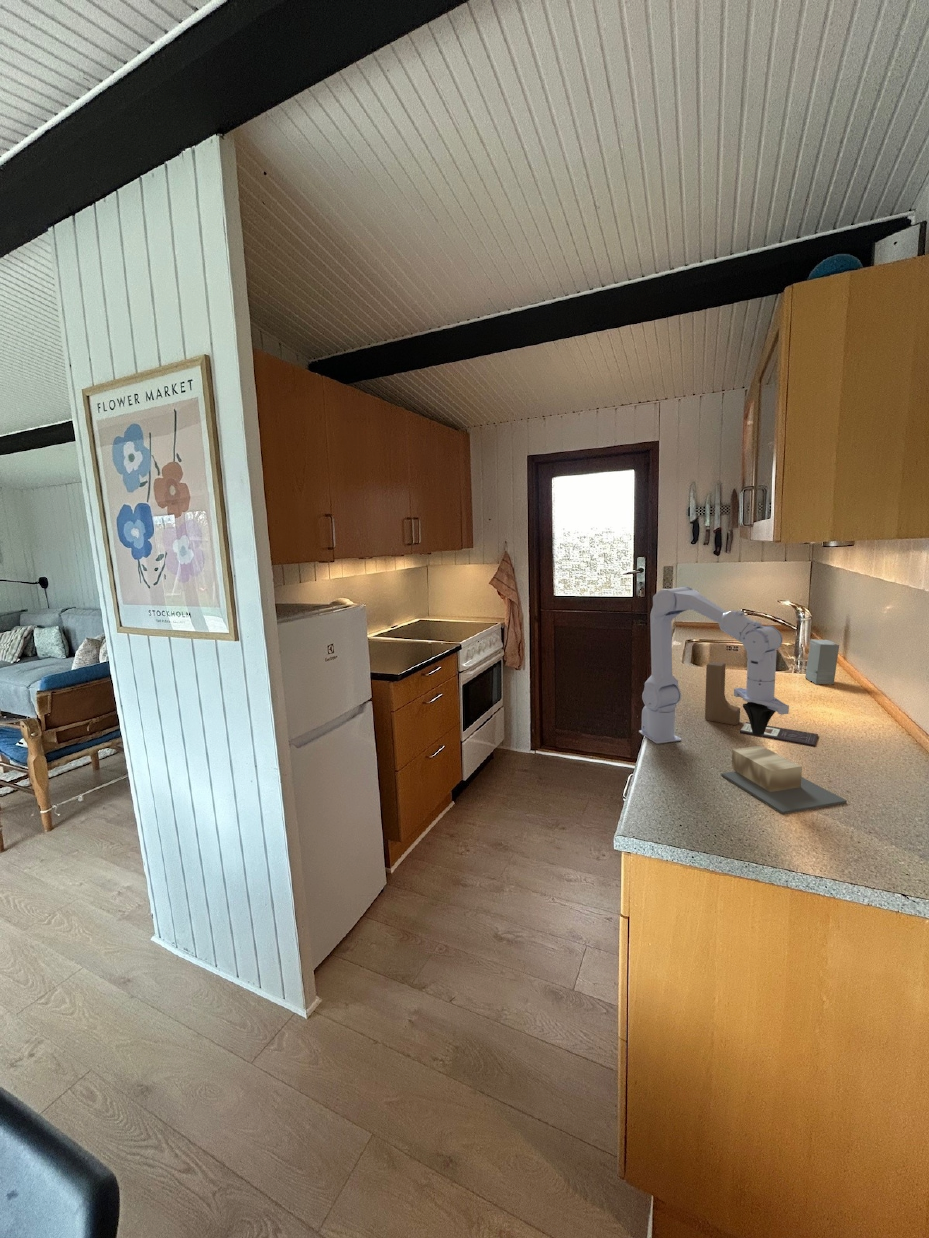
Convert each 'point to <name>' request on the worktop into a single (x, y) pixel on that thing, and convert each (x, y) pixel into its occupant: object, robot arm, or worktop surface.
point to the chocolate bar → (784, 735)
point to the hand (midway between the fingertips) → (758, 733)
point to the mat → (788, 795)
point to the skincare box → (822, 661)
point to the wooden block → (718, 696)
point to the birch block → (767, 768)
